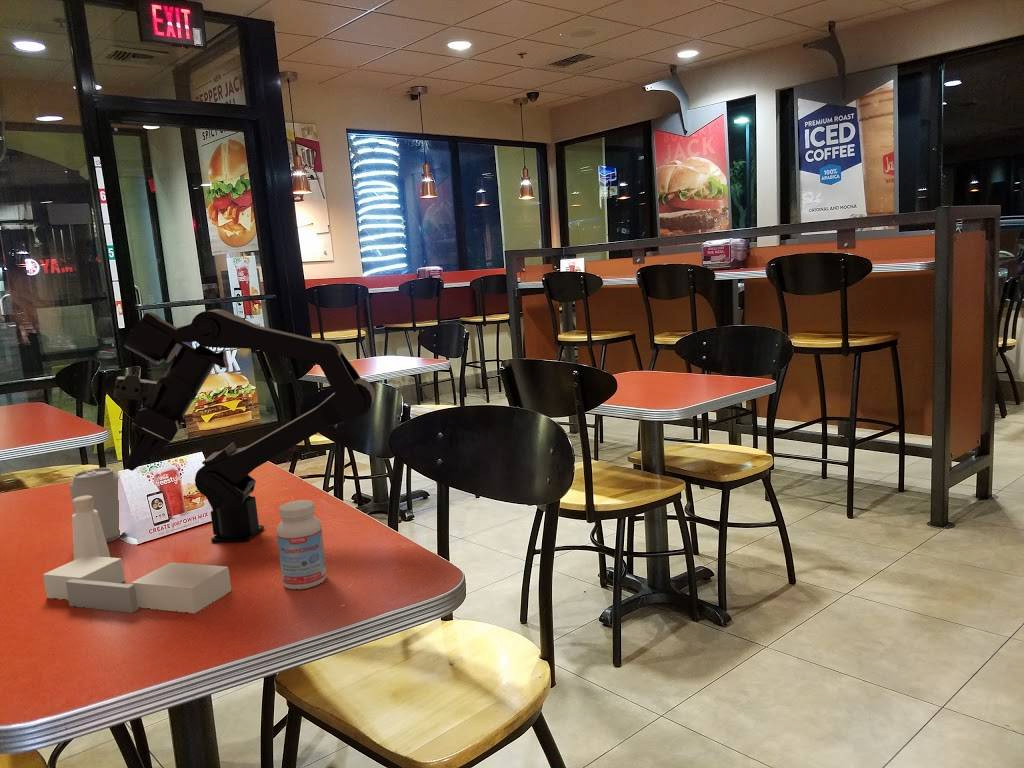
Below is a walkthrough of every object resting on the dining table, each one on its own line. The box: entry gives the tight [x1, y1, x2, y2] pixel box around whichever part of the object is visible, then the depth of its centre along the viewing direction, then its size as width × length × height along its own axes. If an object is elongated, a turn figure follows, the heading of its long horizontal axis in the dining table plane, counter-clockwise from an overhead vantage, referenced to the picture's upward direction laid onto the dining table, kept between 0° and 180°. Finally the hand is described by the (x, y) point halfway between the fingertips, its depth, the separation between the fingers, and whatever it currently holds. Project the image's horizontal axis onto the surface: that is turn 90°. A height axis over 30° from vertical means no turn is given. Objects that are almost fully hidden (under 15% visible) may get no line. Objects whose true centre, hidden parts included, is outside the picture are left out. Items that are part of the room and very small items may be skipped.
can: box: [69, 467, 120, 543], centre depth 130 cm, size 8×8×12 cm
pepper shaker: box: [71, 495, 111, 561], centre depth 118 cm, size 5×5×11 cm
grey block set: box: [42, 556, 232, 614], centre depth 105 cm, size 26×8×4 cm, turn 71°
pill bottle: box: [276, 499, 327, 590], centre depth 105 cm, size 6×6×11 cm
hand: (132, 464), depth 121 cm, fingers open, 9 cm apart
